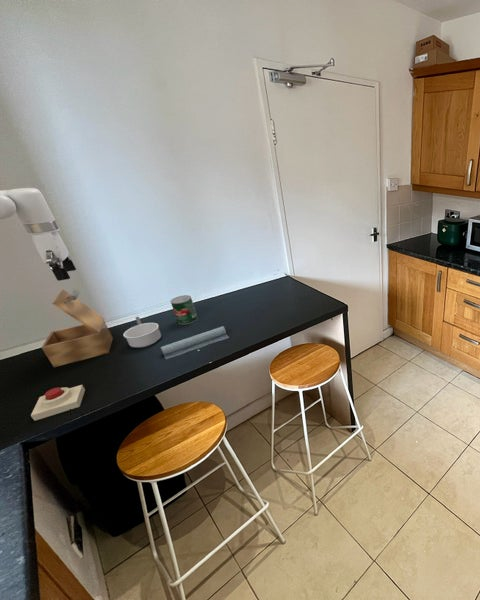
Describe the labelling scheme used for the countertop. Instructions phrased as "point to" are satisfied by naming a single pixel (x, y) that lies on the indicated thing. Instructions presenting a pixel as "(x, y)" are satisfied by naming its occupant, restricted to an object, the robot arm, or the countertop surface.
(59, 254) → the robot arm
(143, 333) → the saucepan
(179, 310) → the canned tomato
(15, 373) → the countertop surface
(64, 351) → the box
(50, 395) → the button
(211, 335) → the aluminum foil
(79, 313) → the lid
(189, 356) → the countertop surface
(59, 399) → the switch block
